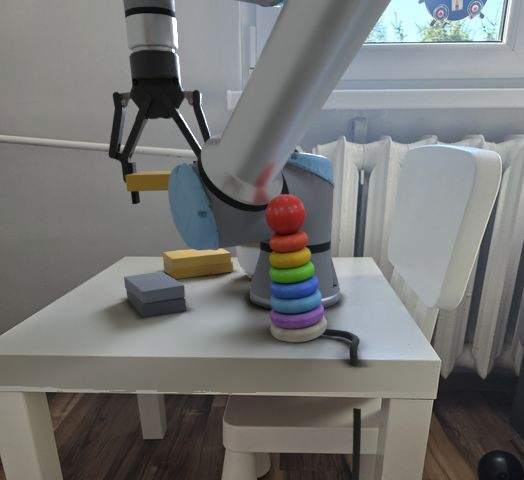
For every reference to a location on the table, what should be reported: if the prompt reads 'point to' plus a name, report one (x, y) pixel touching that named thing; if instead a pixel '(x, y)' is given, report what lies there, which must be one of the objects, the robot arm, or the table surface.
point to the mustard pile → (196, 262)
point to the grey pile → (155, 294)
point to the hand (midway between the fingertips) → (167, 202)
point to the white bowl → (248, 257)
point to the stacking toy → (292, 275)
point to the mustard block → (148, 181)
